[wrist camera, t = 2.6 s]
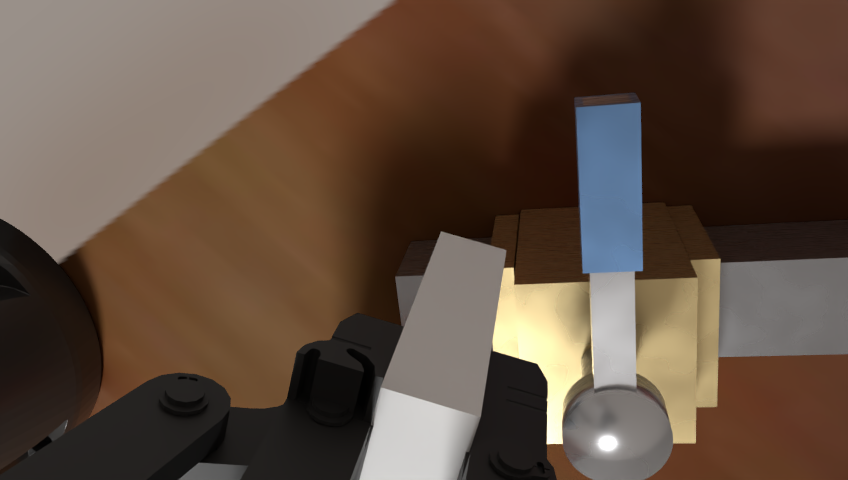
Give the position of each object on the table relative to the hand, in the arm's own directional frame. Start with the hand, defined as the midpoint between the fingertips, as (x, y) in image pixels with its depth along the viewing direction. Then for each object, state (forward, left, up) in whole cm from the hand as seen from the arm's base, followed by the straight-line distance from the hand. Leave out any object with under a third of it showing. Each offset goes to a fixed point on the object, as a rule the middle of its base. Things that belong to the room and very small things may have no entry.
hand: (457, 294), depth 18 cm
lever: (+4, -3, -6) cm, 7 cm away
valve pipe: (+6, -7, -17) cm, 19 cm away
